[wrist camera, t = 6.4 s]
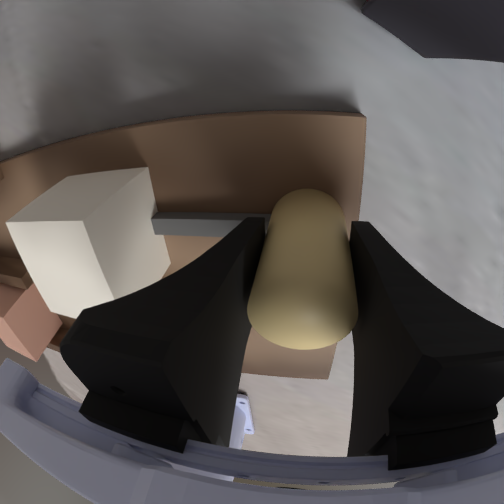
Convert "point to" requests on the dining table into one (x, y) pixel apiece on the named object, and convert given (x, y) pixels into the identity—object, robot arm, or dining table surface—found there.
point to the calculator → (444, 26)
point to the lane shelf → (205, 188)
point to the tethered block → (188, 224)
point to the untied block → (26, 320)
